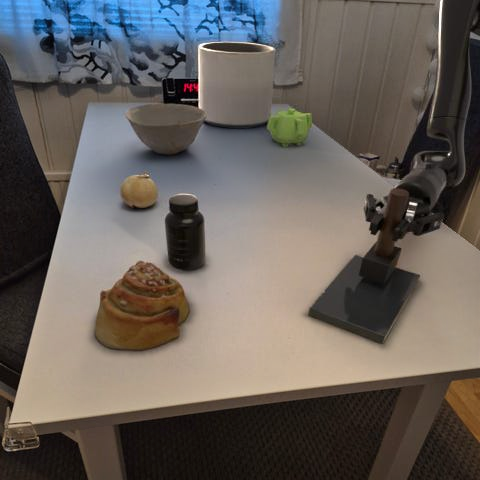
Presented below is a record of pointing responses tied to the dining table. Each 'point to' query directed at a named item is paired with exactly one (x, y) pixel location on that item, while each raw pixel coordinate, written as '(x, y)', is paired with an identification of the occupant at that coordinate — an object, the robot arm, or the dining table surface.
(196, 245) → the supplement bottle
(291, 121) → the teapot
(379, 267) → the wooden mallet
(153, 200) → the onion
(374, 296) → the slate board
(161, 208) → the dining table surface
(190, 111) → the ceramic bowl
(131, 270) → the pastry
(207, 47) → the planter
